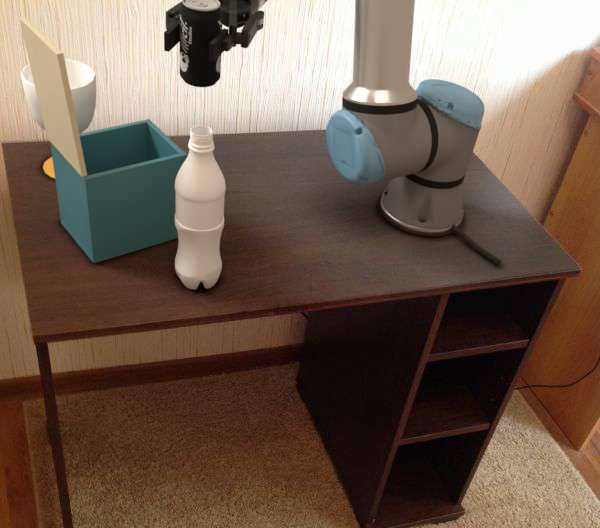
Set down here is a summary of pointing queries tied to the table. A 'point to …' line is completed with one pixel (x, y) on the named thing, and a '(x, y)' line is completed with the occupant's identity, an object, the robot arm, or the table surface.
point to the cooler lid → (53, 94)
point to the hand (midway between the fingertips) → (188, 47)
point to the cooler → (120, 190)
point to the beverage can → (199, 41)
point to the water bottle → (199, 212)
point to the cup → (82, 96)
